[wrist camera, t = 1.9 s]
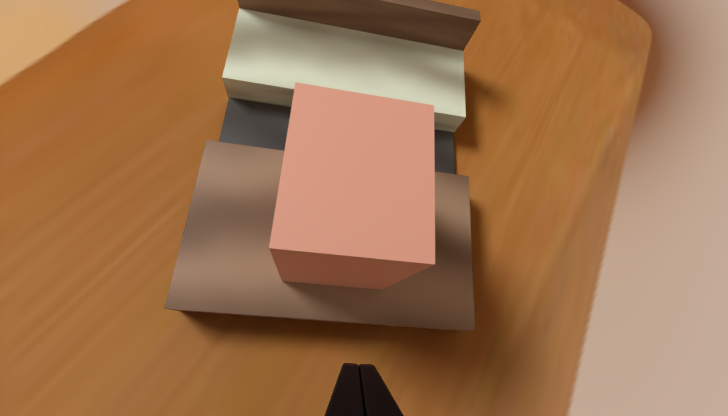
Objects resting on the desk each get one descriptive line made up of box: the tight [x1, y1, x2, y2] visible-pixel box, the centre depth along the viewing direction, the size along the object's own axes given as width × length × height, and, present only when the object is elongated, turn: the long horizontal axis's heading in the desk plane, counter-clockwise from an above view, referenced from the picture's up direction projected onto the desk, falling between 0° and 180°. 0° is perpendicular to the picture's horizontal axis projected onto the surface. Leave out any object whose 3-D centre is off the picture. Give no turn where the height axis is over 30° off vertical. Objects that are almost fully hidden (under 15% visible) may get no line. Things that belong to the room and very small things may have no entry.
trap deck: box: [164, 0, 481, 331], centre depth 24 cm, size 23×18×6 cm
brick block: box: [269, 82, 435, 290], centre depth 18 cm, size 7×6×9 cm
